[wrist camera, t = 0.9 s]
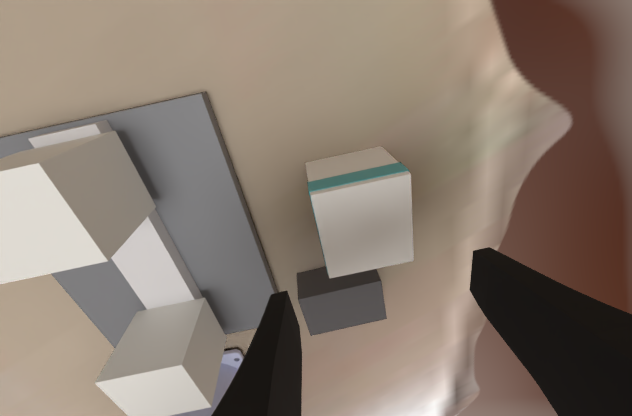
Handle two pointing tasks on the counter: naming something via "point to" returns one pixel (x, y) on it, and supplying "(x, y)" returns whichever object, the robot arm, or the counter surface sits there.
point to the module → (362, 210)
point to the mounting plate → (139, 243)
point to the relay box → (339, 299)
